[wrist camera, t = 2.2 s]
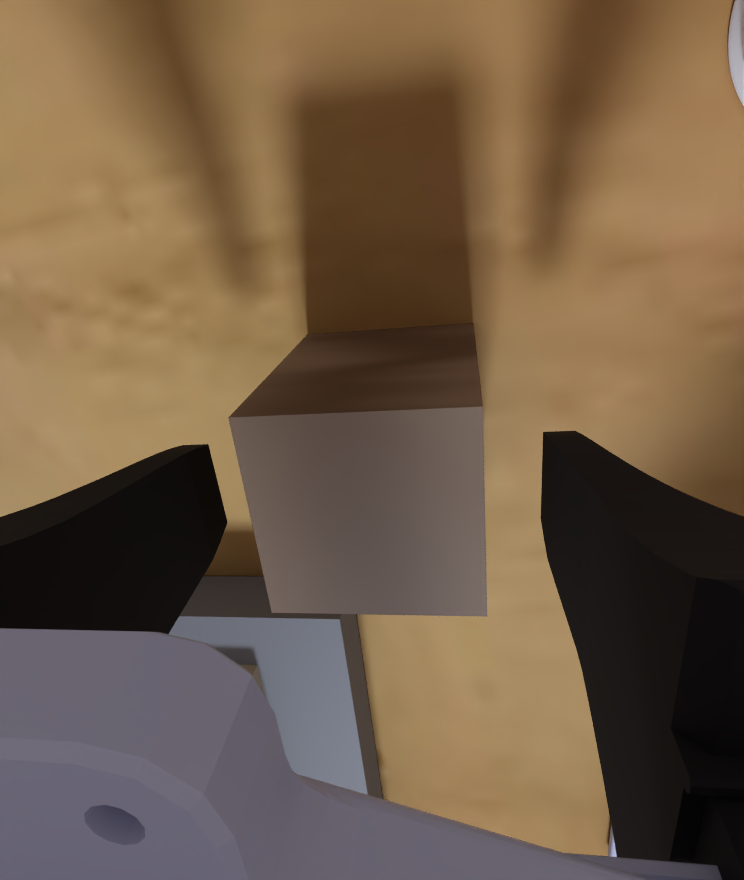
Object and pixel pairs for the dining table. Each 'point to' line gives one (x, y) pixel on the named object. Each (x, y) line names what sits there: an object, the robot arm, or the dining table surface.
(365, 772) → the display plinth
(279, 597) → the walnut block
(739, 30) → the chess piece
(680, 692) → the robot arm
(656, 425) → the dining table surface
